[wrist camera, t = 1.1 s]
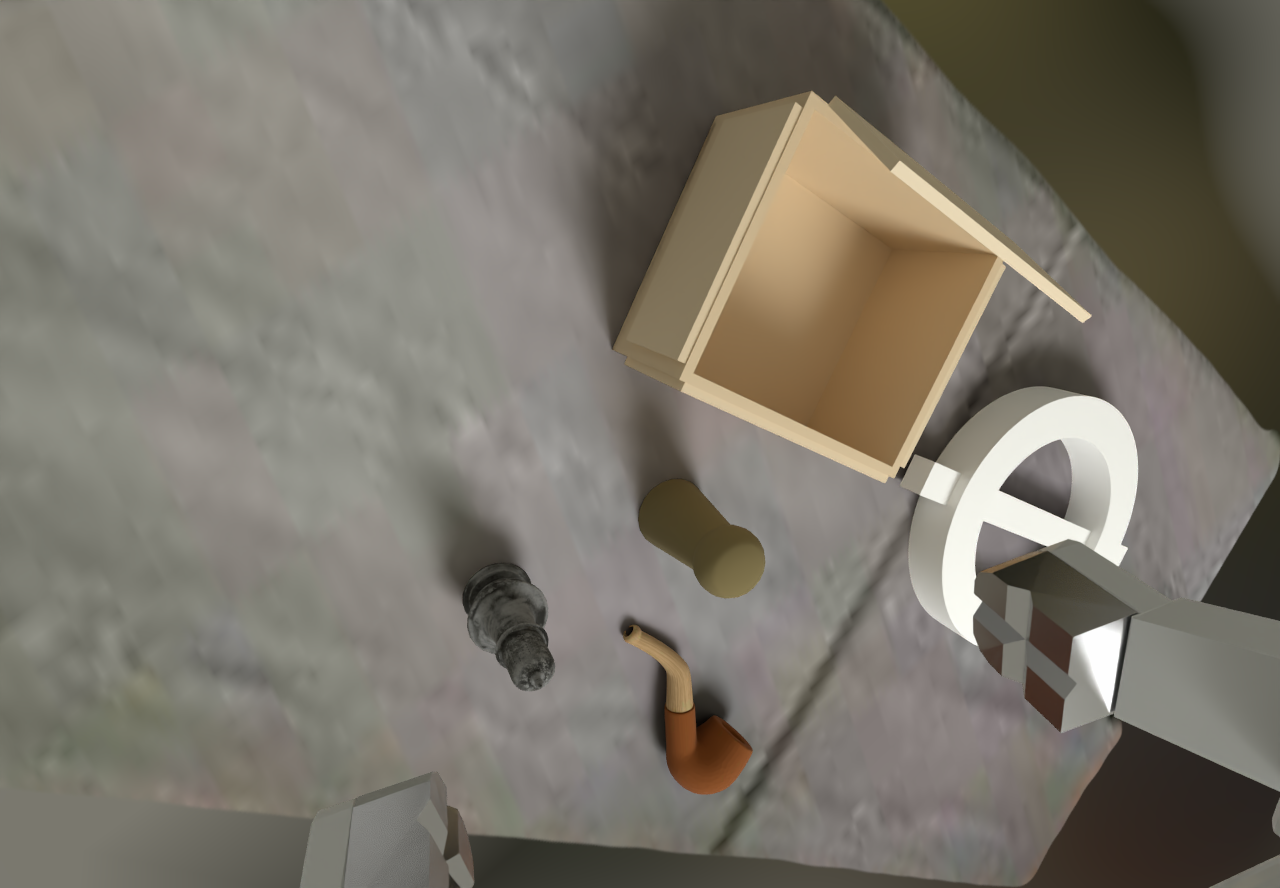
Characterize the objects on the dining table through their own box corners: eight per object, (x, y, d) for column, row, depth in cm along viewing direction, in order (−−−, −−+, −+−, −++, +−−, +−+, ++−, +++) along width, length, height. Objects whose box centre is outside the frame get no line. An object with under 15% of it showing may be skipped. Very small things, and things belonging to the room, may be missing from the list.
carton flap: (1006, 248, 48) (1082, 323, 42) (827, 105, 39) (890, 171, 33) (1013, 241, 48) (1091, 315, 41) (835, 95, 39) (899, 160, 33)
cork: (704, 473, 57) (780, 524, 48) (703, 539, 59) (777, 601, 50) (637, 485, 55) (703, 541, 45) (638, 553, 57) (702, 621, 47)
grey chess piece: (446, 581, 51) (478, 675, 40) (520, 546, 52) (569, 628, 42) (476, 642, 53) (513, 745, 43) (545, 606, 55) (598, 697, 44)
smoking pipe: (679, 777, 67) (709, 823, 61) (578, 664, 58) (602, 707, 53) (735, 727, 68) (769, 768, 63) (644, 609, 59) (674, 646, 54)
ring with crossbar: (885, 460, 66) (923, 477, 62) (1090, 342, 73) (1136, 349, 69) (926, 670, 77) (960, 696, 73) (1099, 551, 85) (1139, 568, 80)
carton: (805, 445, 61) (895, 488, 51) (601, 353, 51) (666, 385, 41) (901, 248, 59) (1013, 253, 49) (709, 111, 49) (804, 84, 39)
